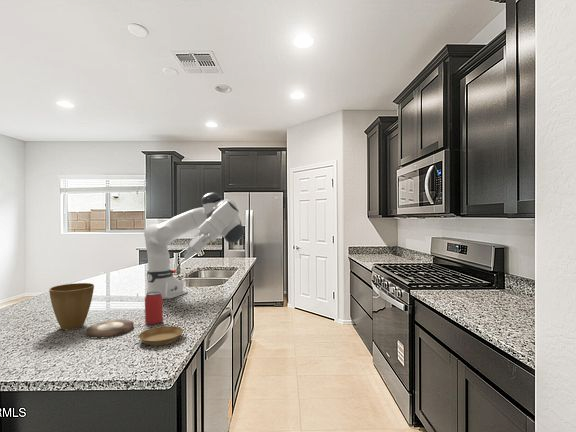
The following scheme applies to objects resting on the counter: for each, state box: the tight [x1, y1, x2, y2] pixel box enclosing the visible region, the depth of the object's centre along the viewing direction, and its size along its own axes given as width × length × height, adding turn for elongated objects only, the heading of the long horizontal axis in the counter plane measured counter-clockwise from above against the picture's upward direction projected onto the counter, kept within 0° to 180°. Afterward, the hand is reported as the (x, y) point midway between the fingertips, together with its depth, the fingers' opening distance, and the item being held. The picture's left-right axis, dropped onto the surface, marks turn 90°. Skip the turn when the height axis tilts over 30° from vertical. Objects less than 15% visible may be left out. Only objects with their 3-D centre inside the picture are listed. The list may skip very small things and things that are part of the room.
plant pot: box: [48, 282, 95, 331], centre depth 131 cm, size 15×15×16 cm
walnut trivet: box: [85, 319, 135, 339], centre depth 127 cm, size 16×16×2 cm
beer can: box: [144, 292, 164, 326], centre depth 135 cm, size 7×7×12 cm
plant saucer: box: [137, 325, 184, 347], centre depth 117 cm, size 15×15×3 cm
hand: (184, 256), depth 139 cm, fingers open, 8 cm apart
